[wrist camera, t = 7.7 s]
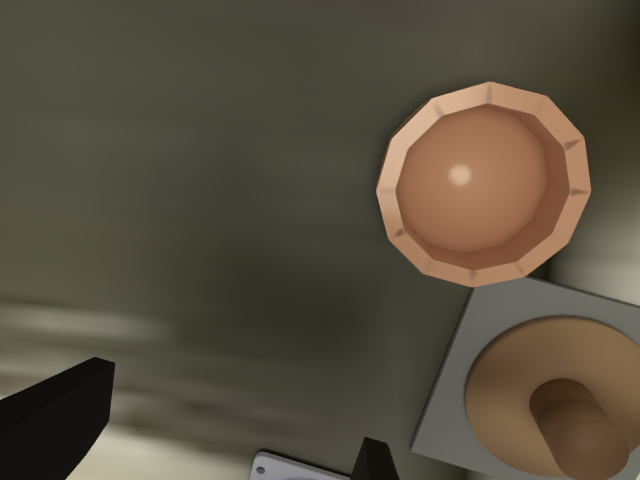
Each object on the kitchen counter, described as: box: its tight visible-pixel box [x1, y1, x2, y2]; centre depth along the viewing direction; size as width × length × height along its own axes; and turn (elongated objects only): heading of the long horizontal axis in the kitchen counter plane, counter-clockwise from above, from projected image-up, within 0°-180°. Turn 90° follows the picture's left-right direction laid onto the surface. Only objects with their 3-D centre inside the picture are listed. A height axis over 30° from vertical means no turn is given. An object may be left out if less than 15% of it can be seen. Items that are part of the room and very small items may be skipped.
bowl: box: [376, 82, 591, 287], centre depth 18 cm, size 8×8×3 cm
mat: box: [410, 275, 640, 480], centre depth 22 cm, size 11×11×1 cm
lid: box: [464, 315, 640, 480], centre depth 20 cm, size 9×9×4 cm
